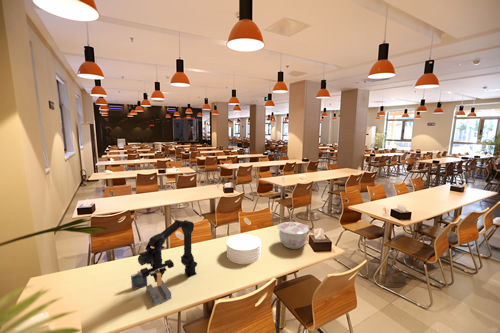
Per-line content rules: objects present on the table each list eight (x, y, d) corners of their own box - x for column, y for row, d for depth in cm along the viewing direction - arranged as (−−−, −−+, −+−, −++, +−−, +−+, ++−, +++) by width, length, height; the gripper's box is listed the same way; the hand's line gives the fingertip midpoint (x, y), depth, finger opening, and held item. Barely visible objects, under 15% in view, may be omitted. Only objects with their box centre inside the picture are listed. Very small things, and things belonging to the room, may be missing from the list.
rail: (162, 285, 155) (162, 279, 155) (171, 298, 143) (171, 292, 142) (146, 291, 149) (146, 286, 148) (154, 306, 137) (154, 300, 136)
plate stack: (261, 264, 180) (261, 250, 178) (224, 263, 181) (224, 250, 179) (260, 246, 208) (260, 234, 206) (228, 246, 208) (228, 233, 207)
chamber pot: (274, 250, 201) (274, 227, 198) (279, 236, 227) (280, 216, 224) (307, 255, 193) (309, 231, 190) (309, 240, 219) (310, 219, 216)
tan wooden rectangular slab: (158, 279, 148) (157, 268, 147) (161, 284, 143) (161, 273, 142) (154, 281, 146) (153, 270, 145) (157, 286, 142) (157, 274, 141)
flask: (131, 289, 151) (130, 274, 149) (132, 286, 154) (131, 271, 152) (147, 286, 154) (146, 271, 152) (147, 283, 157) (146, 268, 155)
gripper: (167, 247, 154) (168, 269, 157) (136, 257, 143) (138, 280, 145) (173, 254, 146) (174, 277, 148) (141, 265, 134) (143, 289, 136)
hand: (158, 280), depth 145 cm, fingers closed on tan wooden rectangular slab, 2 cm apart
